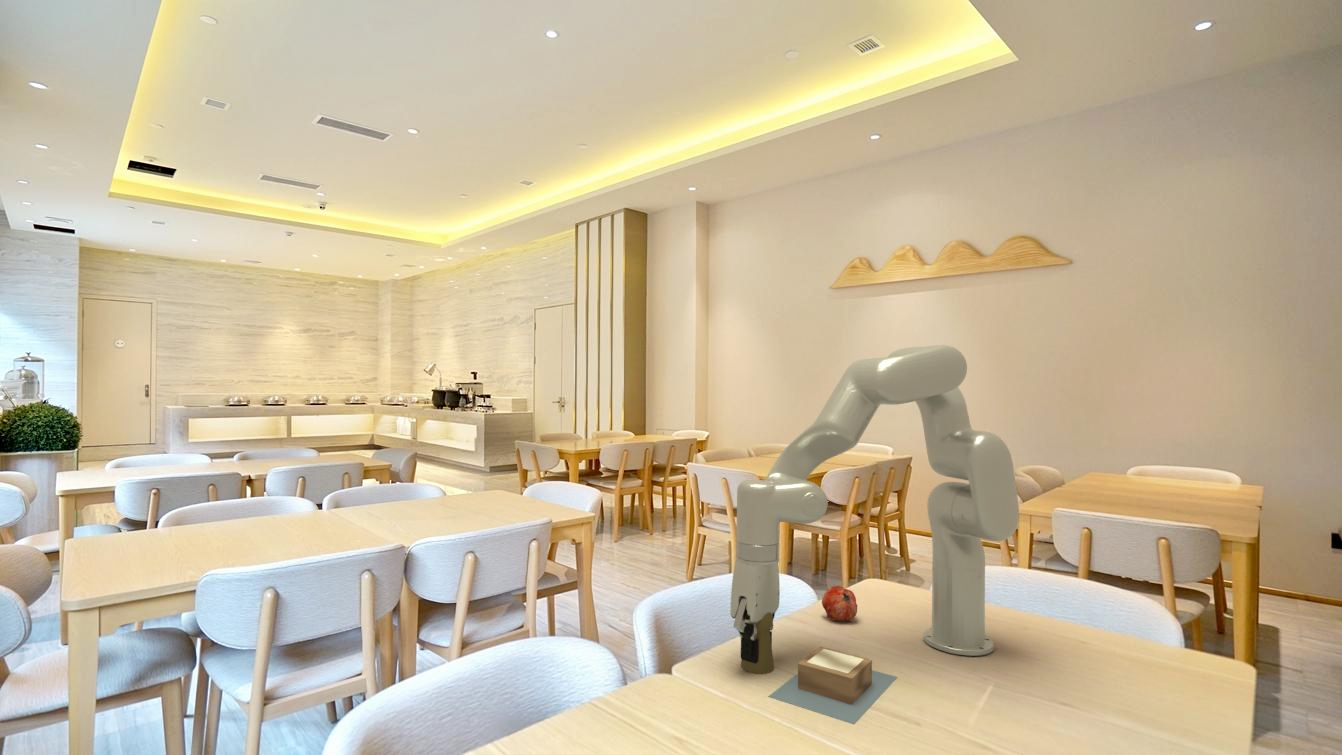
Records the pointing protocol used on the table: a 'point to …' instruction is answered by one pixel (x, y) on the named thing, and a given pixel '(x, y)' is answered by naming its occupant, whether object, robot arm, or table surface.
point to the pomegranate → (839, 604)
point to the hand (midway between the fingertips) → (756, 655)
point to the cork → (761, 648)
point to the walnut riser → (835, 675)
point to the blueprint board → (831, 706)
